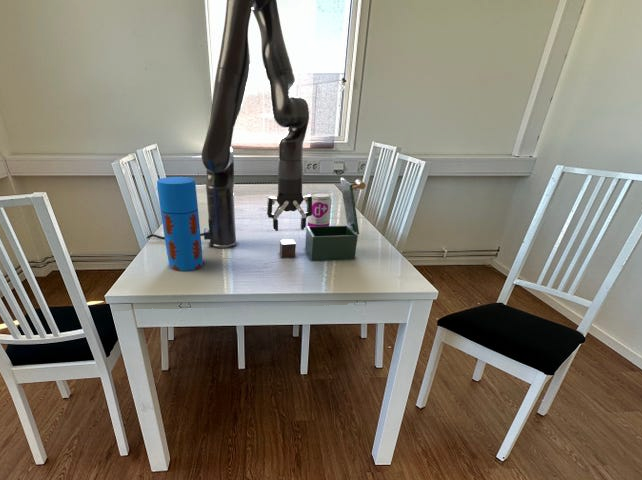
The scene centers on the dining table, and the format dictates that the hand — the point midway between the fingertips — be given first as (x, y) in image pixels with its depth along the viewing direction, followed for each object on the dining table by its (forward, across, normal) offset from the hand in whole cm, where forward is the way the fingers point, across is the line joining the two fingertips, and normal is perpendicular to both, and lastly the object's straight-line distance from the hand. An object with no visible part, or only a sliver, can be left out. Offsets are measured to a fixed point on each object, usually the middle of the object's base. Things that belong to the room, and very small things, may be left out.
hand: (289, 229), depth 129 cm
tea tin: (+9, -14, 0) cm, 16 cm away
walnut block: (+8, 0, 0) cm, 9 cm away
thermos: (+8, +34, +5) cm, 35 cm away
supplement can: (+9, -14, -19) cm, 25 cm away
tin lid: (-7, -19, +1) cm, 20 cm away
